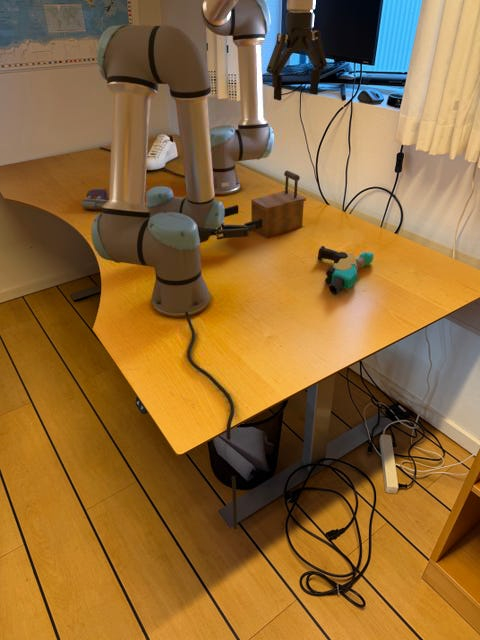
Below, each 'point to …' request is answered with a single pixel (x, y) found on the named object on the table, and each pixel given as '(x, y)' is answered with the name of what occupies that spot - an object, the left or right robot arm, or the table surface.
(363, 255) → the toy gun
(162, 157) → the sneaker
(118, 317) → the table surface
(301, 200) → the lid
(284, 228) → the chest
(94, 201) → the toy gun
